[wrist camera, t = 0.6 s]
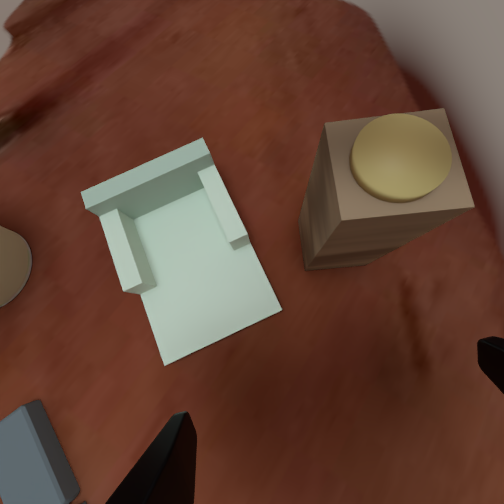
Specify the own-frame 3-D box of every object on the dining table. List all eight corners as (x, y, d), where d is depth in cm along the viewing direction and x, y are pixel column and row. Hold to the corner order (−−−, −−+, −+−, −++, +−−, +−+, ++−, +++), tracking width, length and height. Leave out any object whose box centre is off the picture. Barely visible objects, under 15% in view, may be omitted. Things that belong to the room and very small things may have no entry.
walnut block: (365, 265, 21) (487, 200, 9) (304, 270, 22) (345, 214, 10) (355, 214, 23) (453, 96, 10) (298, 220, 23) (327, 112, 11)
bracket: (44, 396, 21) (21, 404, 20) (102, 523, 19) (82, 547, 17) (2, 427, 21) (-25, 438, 19) (56, 560, 19) (31, 589, 17)
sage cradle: (281, 310, 21) (284, 308, 16) (169, 363, 21) (138, 378, 16) (216, 172, 25) (202, 137, 20) (119, 216, 24) (80, 192, 19)
